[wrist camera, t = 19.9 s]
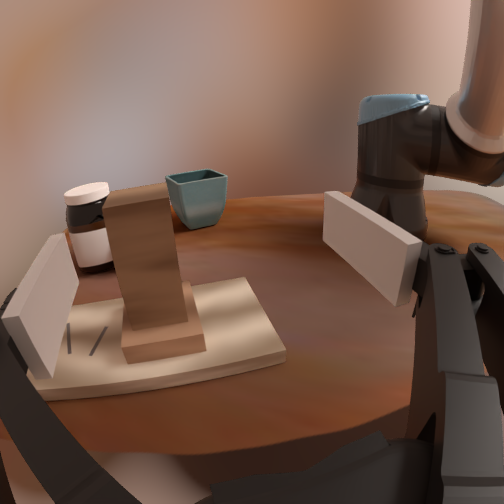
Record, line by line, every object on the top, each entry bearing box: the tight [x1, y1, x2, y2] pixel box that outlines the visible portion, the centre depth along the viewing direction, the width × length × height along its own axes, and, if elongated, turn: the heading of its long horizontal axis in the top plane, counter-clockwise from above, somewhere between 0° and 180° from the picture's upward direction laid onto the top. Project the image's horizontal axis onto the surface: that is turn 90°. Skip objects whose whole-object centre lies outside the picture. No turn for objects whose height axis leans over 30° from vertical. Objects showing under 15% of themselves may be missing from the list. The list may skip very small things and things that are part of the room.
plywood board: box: [26, 277, 286, 401], centre depth 29 cm, size 13×28×2 cm, turn 107°
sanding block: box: [102, 182, 207, 364], centre depth 27 cm, size 9×7×13 cm
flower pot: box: [165, 169, 227, 229], centre depth 56 cm, size 9×9×9 cm
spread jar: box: [64, 182, 115, 273], centre depth 43 cm, size 12×11×12 cm
